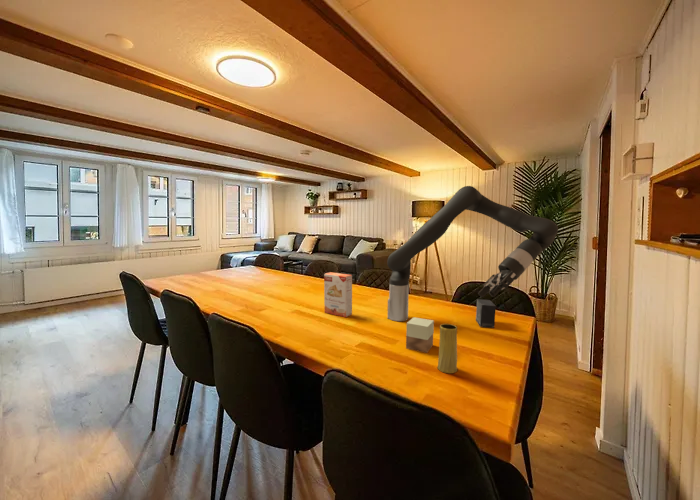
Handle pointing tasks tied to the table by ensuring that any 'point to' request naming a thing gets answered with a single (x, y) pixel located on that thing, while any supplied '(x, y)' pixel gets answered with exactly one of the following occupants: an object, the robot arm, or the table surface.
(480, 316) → the small box
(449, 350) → the vase
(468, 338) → the table surface
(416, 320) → the tower top block
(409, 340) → the tower base block
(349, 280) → the cracker box
